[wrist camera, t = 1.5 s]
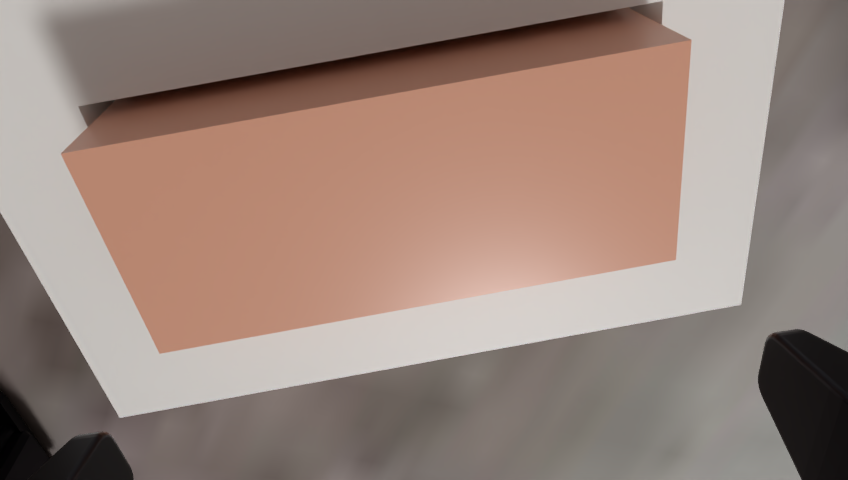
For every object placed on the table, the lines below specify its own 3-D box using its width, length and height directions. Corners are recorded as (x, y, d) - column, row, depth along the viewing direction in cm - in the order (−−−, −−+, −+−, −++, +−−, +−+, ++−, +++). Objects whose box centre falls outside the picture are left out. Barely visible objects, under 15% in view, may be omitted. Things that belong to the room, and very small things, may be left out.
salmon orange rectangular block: (197, 259, 18) (159, 353, 14) (127, 88, 15) (60, 153, 12) (613, 183, 18) (675, 260, 14) (614, 1, 15) (691, 40, 12)
